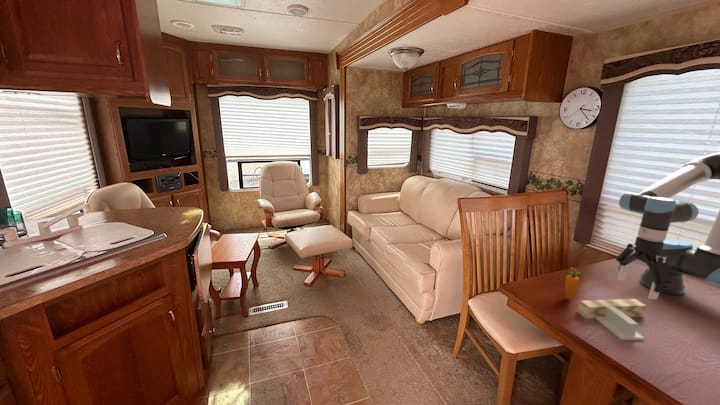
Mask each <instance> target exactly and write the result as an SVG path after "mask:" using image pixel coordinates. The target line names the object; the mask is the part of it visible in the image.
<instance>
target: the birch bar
mask: <svg viewBox="0 0 720 405" xmlns="http://www.w3.org/2000/svg"><path fill="white" fill-rule="evenodd" d="M607 307H616V308H617V309H618V310H620V311H621V312H622V313H624V314H625V315H627V316H628V317H629V318H643V317H644V313H645V311H646V307H647V305H646V304H645V303H643V302H641V301H640V300H638V299H636V298H625V299H623V298H622V299H621V298H618V299H593V300H592V299H588V300H586V299H585V300H579V302H578V307H577V313H578V314H580V315H581V316H582V317H583V318H585V319H587V320H588V319H596V316H605V313H606V309H607Z"/></svg>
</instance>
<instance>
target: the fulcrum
mask: <svg viewBox="0 0 720 405" xmlns="http://www.w3.org/2000/svg"><path fill="white" fill-rule="evenodd" d="M595 319H596V321H597V322H598V323H600V324H602V325H603V326H604V327H605V328H606V329H607V330H608V331H610V332H611V333H613V335H615V336H616V338H618V339H620V341H644V340H645V337H644V336H642V335H641V334H640V333H639V332H637V328H638V325H639V324H638V323H637V321H635V320H633V319H632V317H628V316H627V315H625V314H624V313H622V312H621V311H620V310H618V309H617V308H616V307H607V309H606V313H605V316H596V318H595Z"/></svg>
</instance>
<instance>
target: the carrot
mask: <svg viewBox="0 0 720 405" xmlns="http://www.w3.org/2000/svg"><path fill="white" fill-rule="evenodd" d="M569 269H570V270H569V271H568V273H569V274H567V275H566V276H565V282H564V293H565V298H566V300H571V299H572V298H573V297H574V296H575V295H576V292H577V291H578V288H579V284H580V278H579V277H578V275H579V274H580V273H581V272H580V271H578V270H577V269H574V268H573V267H570V268H569Z"/></svg>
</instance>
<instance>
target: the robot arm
mask: <svg viewBox="0 0 720 405" xmlns="http://www.w3.org/2000/svg"><path fill="white" fill-rule="evenodd" d="M708 180H719V181H720V152H716V153H710V154H708V155H704V156H700V157H698V158H695V159H693V160H690V161H689V162H687V163H685V164H684V165H683V166H682V168H681V169H679V170H677V171H676V172H673V173H672V174H670V175H668V176H667V177H665V178H663V179H661V180H659V181H657V182H655V183H654V184H651V185H650V186H648V187H647V188H645V189H642V190H641V191H639V192H637V193H635V192H625V193H623V194H622V195H621V196H620V198H619V200H618V204H619V207H620V208H621V209H623V210H625V211H629V212H632V213H636V214H640V215H642V217H641V220H640V224H639V228H638V232H637V236H636V238H635V241H634V243H627V246H626V247H625V249H624V250H623V251H622V252H621V253H620V254H619V255H617V257H616V258H615V260H616V262H618V263H619V268H618V275H617V278H616V280H618V281H626V278H627V276H628V271H629V269H630V268H629V267H630V266H629V265H630V264H631V263H633V262H635V261H637V260H639V261H642V262H643V263H645V264H646V266H647V268H646V269H645V270H644V272H642V274H641V275H640V276H639V279H638V280H639V283H640V284H641V285H643V286H645V287H646V288H649V293H648V295H647V296H648V297H647V299H649V300H658V298H659V294H660V293H663V294H669V295H673V296H674V295H675V296H676V295H677V296H680V295H683V294H684V293H685V289H686V287H685V282H684V281H685V280H684V275H687V276H690V277H693V278H695V279H698V280H700V281H702V282H704V283H707V284H711V285H714V286H718V287H720V210H719V211H718V213H717V216H716V218H715V220H714V223H712V227H711V229H710V232H709V234H708V236H707V238H706V240H705V242H704V244H702V245H698V246H697V247H696V249H695V248H694V244H692V243H690V242H687V241H683V240H676V239H666V238H667V235H668V232H669V228H670V225H671V224H672V223H673V224H675V223H686V222H691V221H693V220H695V219H696V218H697V217H698V215H699V208H698V206H696V205H695V204H694V203H692V202H688V201H682V200H681V201H676V200H675V199H672V197H674V196H676V195H677V194H679V193H681V192H683V191H685V190H687V189H688V188H690V187H692V186H694V185H695V184H697V183H703V182H707V181H708Z"/></svg>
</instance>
